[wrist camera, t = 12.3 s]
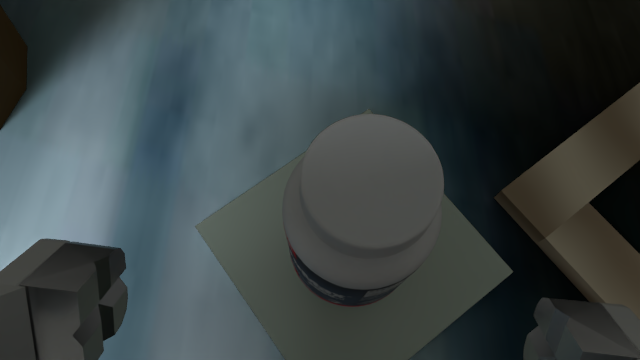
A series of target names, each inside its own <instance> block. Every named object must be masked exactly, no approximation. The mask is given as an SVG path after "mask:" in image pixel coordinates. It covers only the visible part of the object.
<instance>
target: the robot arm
mask: <svg viewBox="0 0 640 360" xmlns="http://www.w3.org/2000/svg"><path fill="white" fill-rule="evenodd" d="M125 269H126V263H125V253H124V252H123V251H122V249H121V248H116V247H109V246H101V245H94V244H87V243H79V242H70V241H66V240H56V239H40V240H39V241H37V242H36V243H35V244H34V245H33V246H31V247H30V248H29V249H28V250H26V251H25V252H24V253H23V254H21V255H20V256H19V257H18V258H16V259H15V260H14V261H13V262H12V263H10V264H9V265H8V266H7V267H5V268H4V269H3V270H2V271H0V360H98V359H99V357H100V356H101V354H102V353H103V351H104V348H103V341H104V340H106V339H108V338H110V337H112V336H113V335H115V334H116V332H117V330H118V329H119V327H120V326H121V324H122V321H123V318H124V315H125V313H126V309H127V300H128V293H127V286H126V285H125V284H124V283H123V281H122V280H121V279H120V277H119V276H120V275H121V274H122V272H123V271H124V270H125ZM534 317H535V320H536V322H537V324H538V326H537V327H536V328H535V329H534V330H532V331H531V332H530V333H528V334H527V338H526V342H525V345H524V357H523V360H640V320H639V319H638V317H637V316H636V315H635V314H634V313H633V312H632V310H631V309H630V308H628V307H626V306H624V305H622V304H610V303H597V302H584V301H573V300H562V299H551V298H541V300H540V301H539V302H538V304H537V306H536V309H535V312H534Z"/></svg>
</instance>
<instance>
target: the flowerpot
mask: <svg viewBox="0 0 640 360" xmlns="http://www.w3.org/2000/svg"><path fill="white" fill-rule="evenodd" d="M26 83H27V45H26V44H25V42H24V41H23V39H22V38H21V36H20V34H19V33H18V31H17V30H16V28H15V27H14V25H13V24H12V22H11V21H10V19H9V18H8V16H7V14H6V13H5V11H4V10H3V8H2V7H1V5H0V129H1V127H2V126H3V124H4V123H5V121H6V120H7V118H8V117H9V115H10V114H11V112H12V110H13V109H14V107H15V106H16V104H17V103H18V101H19V100H20V98H21V97H22V95H23V93H24V92H25V90H26Z"/></svg>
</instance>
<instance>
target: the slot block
mask: <svg viewBox="0 0 640 360" xmlns="http://www.w3.org/2000/svg"><path fill="white" fill-rule="evenodd" d="M639 160H640V83H639V84H637V85H636V86H635V87H633V88H632V89H631V90H630V91H628V92H627V93H626V94H624V95H623V96H622V97H621V98H619V99H618V100H617V101H616V102H614V103H613V104H612V105H610V106H609V107H608V108H607V109H605V110H604V111H603V112H601V113H600V114H599V115H598V116H596V117H595V118H594V119H592V120H591V121H590V122H589V123H587V124H586V125H585V126H583V127H582V128H581V129H580V130H578V131H577V132H576V133H574V134H573V135H572V136H571V137H569V138H568V139H567V140H565V141H564V142H563V143H562V144H560V145H559V146H558V147H557V148H555V149H554V150H553V151H551V152H550V153H549V154H548V155H546V156H545V157H544V158H542V159H541V160H540V161H539V162H537V163H536V164H535V165H533V166H532V167H531V168H530V169H528V170H527V171H526V172H524V173H523V174H522V175H521V176H519V177H518V178H517V179H515V180H514V181H513V182H512V183H510V184H509V185H508V186H506V187H505V188H504V189H503V190H501V191H500V192H499V193H498V194H497V195H496V196H495V197H494V198H495V200H496V201H497V202H498V203H499V204H500V205H501V206H502V207H503V208H504V209H505V210H506V211H507V213H508V214H509V215H510V216H511V217H512V218H513V219H514V220H515V221H516V222H517V223H518V225H519V226H520V227H521V228H522V229H523V230H524V231H525V232H526V233H527V234H528V235H529V236H530V238H531V239H532V240H533V241H534V242H535V243H536V244H537V245H538V246H539V247H540V248H541V250H542V251H543V252H544V253H545V254H546V255H547V256H548V257H549V258H550V259H551V260H552V261H553V263H554V264H555V265H556V266H557V267H558V268H559V269H560V270H561V271H562V272H563V273H564V275H565V276H566V277H567V278H568V279H569V280H570V281H571V282H572V283H573V284H574V285H575V286H576V288H577V289H578V290H579V291H580V292H581V293H582V294H583V295H584V296H585V297H586V298H587V300H588V301H589V302H597V303H610V304H622V305H624V306H626V307H628V308H630V309H631V310H632V312H633V313H634V314H635V315H636V316H637V317H638V319H639V320H640V254H639V253H638V252H637V251H636V250H635V249H634V248H633V247H632V246H631V245H630V244H629V243H628V242H627V241H626V240H625V239H624V238H623V237H622V236H621V235H620V234H619V233H618V232H617V231H616V230H615V229H614V228H613V227H612V226H611V225H610V224H609V223H608V222H607V221H606V220H605V219H604V218H603V217H602V216H601V215H600V214H599V213H598V212H597V211H596V209H595V208H594V207H593V206H592V205H591V204H590V203H589V202H590V201H591V200H592V199H593V198H594V197H596V196H597V195H598V194H599V193H600V192H602V191H603V190H604V189H605V188H606V187H608V186H609V185H610V184H611V183H612V182H614V181H615V180H616V179H617V178H618V177H620V176H621V175H622V174H623V173H624V172H626V171H627V170H628V169H629V168H631V167H632V166H633V165H634V164H635V163H637V162H638V161H639Z"/></svg>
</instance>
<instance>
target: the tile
mask: <svg viewBox="0 0 640 360" xmlns="http://www.w3.org/2000/svg"><path fill="white" fill-rule="evenodd" d="M362 114H373V113H372V112H371V110H370V109H368V110H366V111H365V112H363V113H362ZM306 152H307V151H306ZM306 152H304V153H303V154H301V155H300V156H298V157H297V158H295V159H294V160H292V161H291V162H289V163H288V164H286V165H285V166H284V167H282V168H281V169H279V170H278V171H276V172H275V173H273V174H272V175H270V176H269V177H267V178H266V179H264V180H263V181H261V182H260V183H258V184H257V185H255V186H254V187H252V188H251V189H249V190H248V191H246V192H245V193H244V194H242V195H241V196H239V197H238V198H236V199H235V200H233V201H232V202H230V203H229V204H227V205H226V206H224V207H223V208H221V209H220V210H218V211H217V212H215V213H214V214H212V215H211V216H209V217H208V218H207V219H205V220H204V221H202V222H201V223H199V224H198V225H196V226H195V227H196V229H197V230H198V232H199V233H200V234H201V236H202V237H203V239H204V240H205V242H206V243H207V245H208V246H209V248H210V249H211V251H212V252H213V254H214V255H215V257H216V258H217V260H218V261H219V263H220V264H221V265H222V267H223V268H224V270H225V271H226V273H227V274H228V276H229V277H230V279H231V280H232V282H233V283H234V285H235V286H236V288H237V289H238V291H239V292H240V293H241V295H242V296H243V298H244V299H245V301H246V302H247V304H248V305H249V307H250V308H251V310H252V311H253V313H254V314H255V316H256V317H257V319H258V320H259V321H260V323H261V324H262V326H263V327H264V329H265V330H266V332H267V333H268V335H269V336H270V338H271V339H272V341H273V342H274V344H275V345H276V347H277V348H278V349H279V351H280V352H281V354H282V355H283V357H284V358H285V360H408V359H410V358H411V357H412V356H413V355H414V354H416V353H417V352H418V351H419V350H420V349H422V348H423V347H424V346H425V345H426V344H428V343H429V342H430V341H431V340H432V339H434V338H435V337H436V336H437V335H438V334H439V333H441V332H442V331H443V330H444V329H445V328H447V327H448V326H449V325H450V324H451V323H453V322H454V321H455V320H456V319H457V318H459V317H460V316H461V315H462V314H463V313H465V312H466V311H467V310H468V309H469V308H471V307H472V306H473V305H474V304H475V303H477V302H478V301H479V300H480V299H481V298H483V297H484V296H485V295H486V294H487V293H489V292H490V291H491V290H492V289H493V288H495V287H496V286H497V285H498V284H499V283H501V282H502V281H503V280H504V279H505V278H507V277H508V276H509V275H510V274H511V273H513V271H512V270H511V269H510V267H509V266H508V265H507V264H506V263H505V262H504V261H503V260H502V258H501V257H500V256H499V255H498V254H497V253H496V252H495V251H494V249H493V248H492V247H491V246H490V245H489V244H488V243H487V241H486V240H485V239H484V238H483V237H482V236H481V235H480V234H479V232H478V231H477V230H476V229H475V228H474V227H473V226H472V225H471V223H470V222H469V221H468V220H467V219H466V218H465V217H464V215H463V214H462V213H461V212H460V211H459V210H458V209H457V208H456V206H455V205H454V204H453V203H452V202H451V201H450V200H449V199H448V197H447V196H446V195H445V194H444V193H443V198H442V202H441V206H442V221H441V228H440V232H439V236H438V238H437V241H436V244H435V246H434V248H433V249H432V251H431V253H430V254H429V256H428V257H427V259H426V260H425V262H423V264H422V265H421V266H420V267H419V268H418V269H417V270H416V271H415V272H414V273H413V274H411V275H410V276H409V277H408V278H407V279H406V280H405V281H403V282H402V283H401V284H400V285H399V286H398V287H397V288H396V289H395V290H394V291H393V292H392V293H390V294H389V295H388V296H386V297H385V298H383V299H381V300H380V301H378V302H375V303H373V304H370V305H366V306H362V307H341V306H337V305H333V304H330V303H328V302H325V301H323V300H322V299H320V298H318V297H317V296H315V295H314V294H313V293H312V292H311V291H309V290H308V289H307V287H306V286H305V285H304V284H303V283H302V281H301V280H300V279H299V277H298V275H297V273H296V271H295V269H294V266H293V263H292V261H291V257H290V251H289V246H288V242H287V237H286V234H285V229H284V224H283V217H282V205H283V196H284V191H285V188H286V185H287V182H288V180H289V177H290V175H291V173H292V171H293V170H294V169H295V167H296V165H297V164H298V163H299V162H300V160H301V159H302V158H303V157H304V156H305V154H306Z"/></svg>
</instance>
